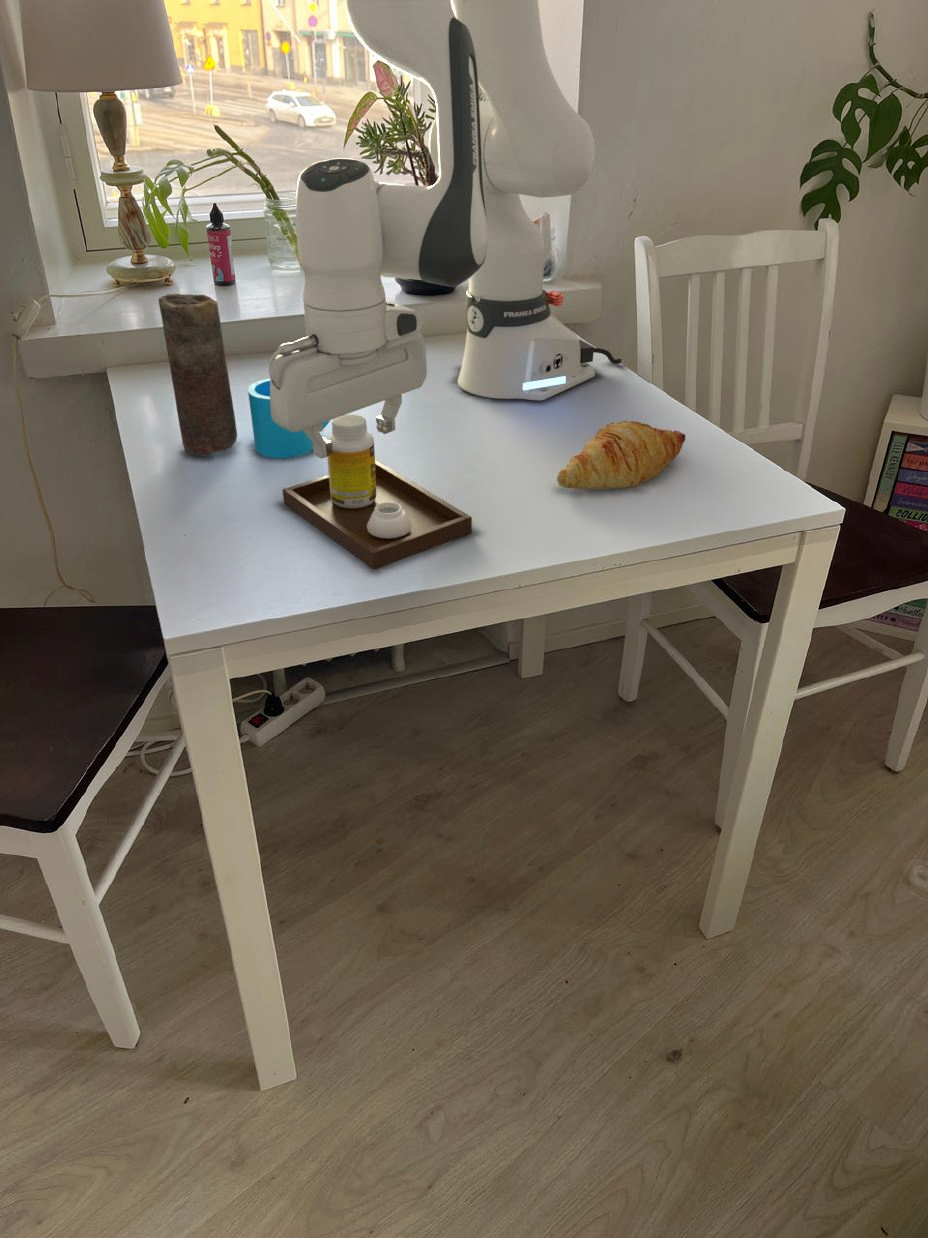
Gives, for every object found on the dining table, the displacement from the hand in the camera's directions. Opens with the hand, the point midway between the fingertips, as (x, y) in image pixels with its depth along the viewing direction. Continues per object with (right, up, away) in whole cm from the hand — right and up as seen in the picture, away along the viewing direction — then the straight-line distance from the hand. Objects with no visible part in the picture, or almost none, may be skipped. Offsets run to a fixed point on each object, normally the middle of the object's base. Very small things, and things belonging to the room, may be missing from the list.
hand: (355, 443), depth 113 cm
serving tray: (+2, -9, +1) cm, 9 cm away
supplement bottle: (-1, -6, +4) cm, 8 cm away
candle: (-22, +3, +18) cm, 29 cm away
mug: (-10, +4, +20) cm, 23 cm away
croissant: (+33, -2, +12) cm, 35 cm away
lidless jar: (+4, -11, -2) cm, 12 cm away
